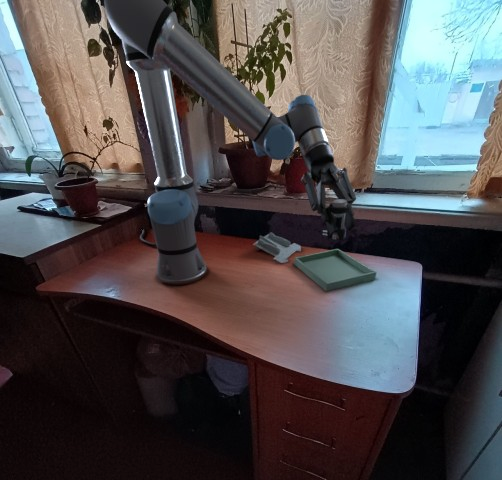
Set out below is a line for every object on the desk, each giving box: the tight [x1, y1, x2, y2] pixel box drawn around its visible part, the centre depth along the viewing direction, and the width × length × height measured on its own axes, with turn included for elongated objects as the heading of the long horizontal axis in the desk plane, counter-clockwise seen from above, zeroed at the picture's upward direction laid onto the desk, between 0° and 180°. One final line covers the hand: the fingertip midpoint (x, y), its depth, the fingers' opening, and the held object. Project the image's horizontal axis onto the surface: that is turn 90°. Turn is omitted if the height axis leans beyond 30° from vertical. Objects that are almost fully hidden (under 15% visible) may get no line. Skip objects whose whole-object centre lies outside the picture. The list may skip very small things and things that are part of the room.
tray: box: [293, 248, 377, 292], centre depth 94 cm, size 19×16×2 cm
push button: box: [322, 198, 350, 241], centre depth 85 cm, size 7×5×10 cm
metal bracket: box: [252, 231, 302, 264], centre depth 107 cm, size 14×6×15 cm
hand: (343, 229), depth 84 cm, fingers closed on push button, 5 cm apart
